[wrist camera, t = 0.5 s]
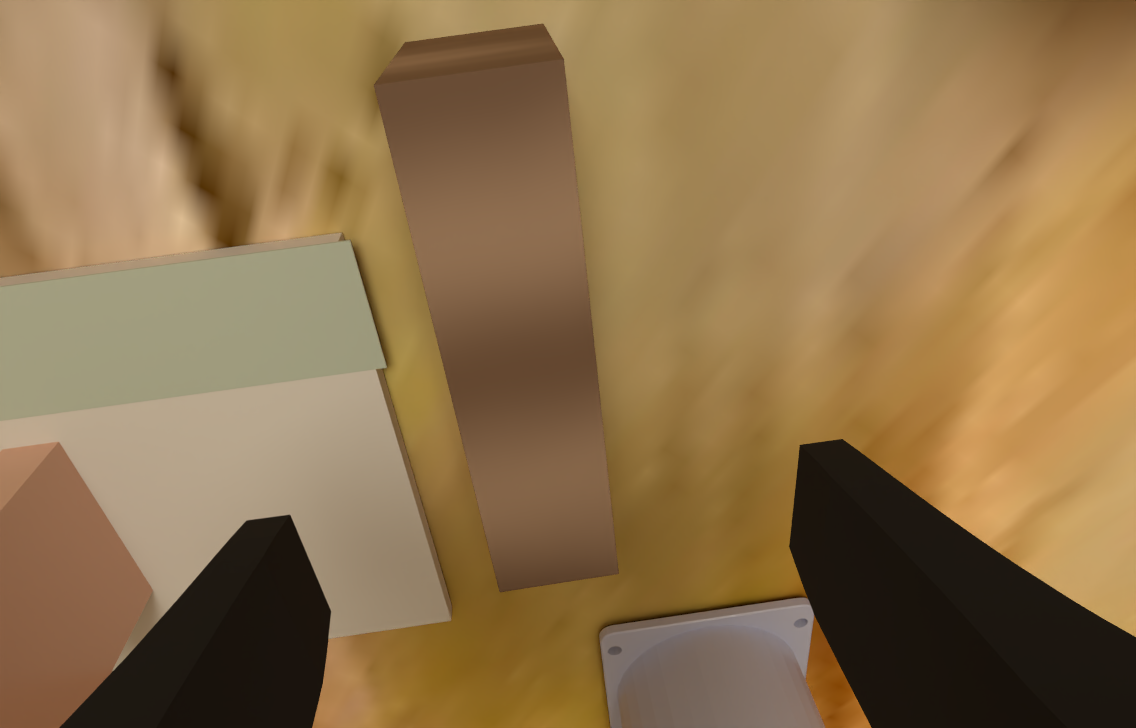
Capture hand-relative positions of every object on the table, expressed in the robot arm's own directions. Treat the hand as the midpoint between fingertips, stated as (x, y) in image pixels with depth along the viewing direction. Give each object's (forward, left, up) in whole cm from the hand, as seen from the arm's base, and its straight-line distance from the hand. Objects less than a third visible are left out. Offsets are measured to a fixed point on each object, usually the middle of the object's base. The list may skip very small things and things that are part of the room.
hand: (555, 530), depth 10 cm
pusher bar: (0, 0, -10) cm, 10 cm away
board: (-5, +13, -9) cm, 17 cm away
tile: (-6, +14, -9) cm, 17 cm away
